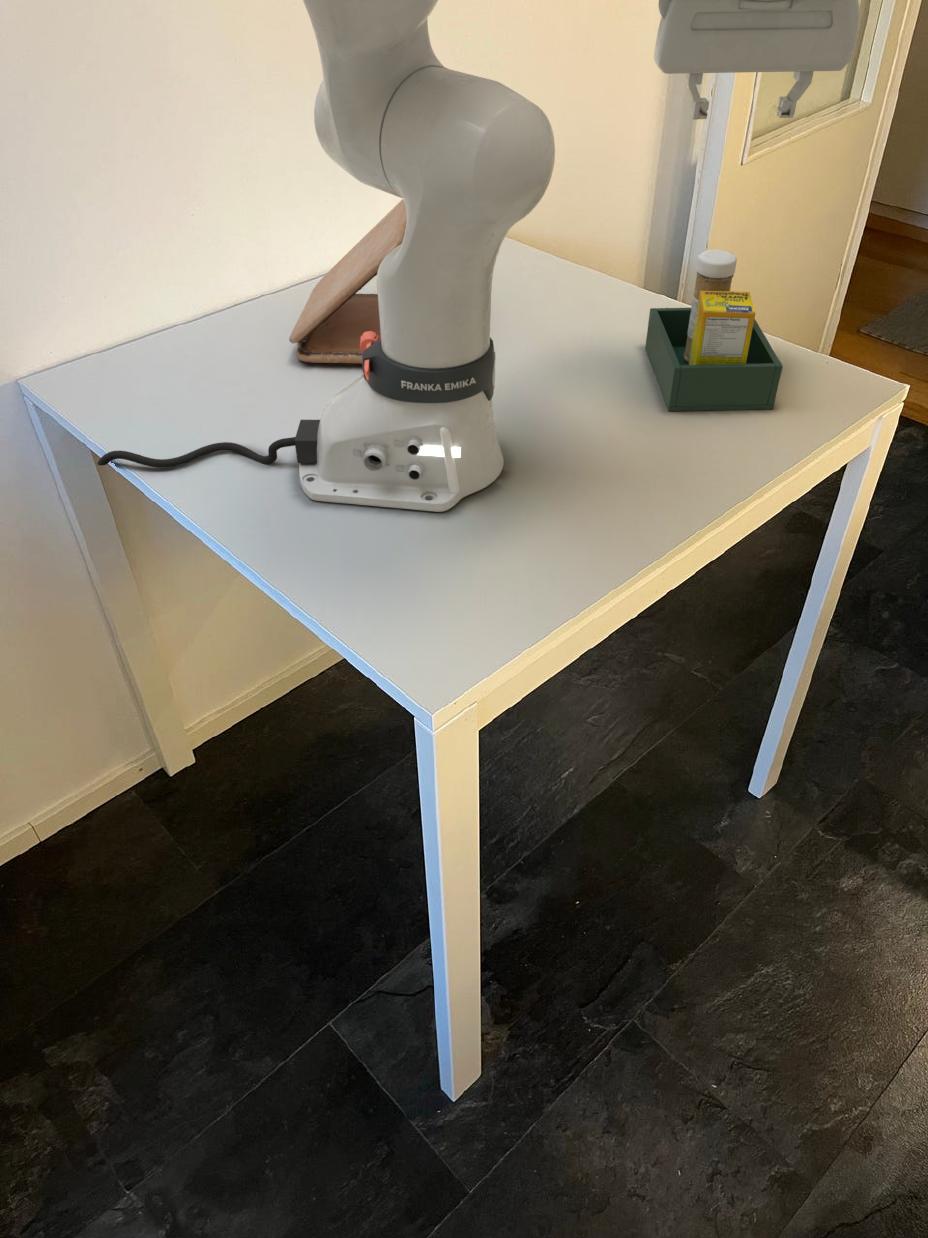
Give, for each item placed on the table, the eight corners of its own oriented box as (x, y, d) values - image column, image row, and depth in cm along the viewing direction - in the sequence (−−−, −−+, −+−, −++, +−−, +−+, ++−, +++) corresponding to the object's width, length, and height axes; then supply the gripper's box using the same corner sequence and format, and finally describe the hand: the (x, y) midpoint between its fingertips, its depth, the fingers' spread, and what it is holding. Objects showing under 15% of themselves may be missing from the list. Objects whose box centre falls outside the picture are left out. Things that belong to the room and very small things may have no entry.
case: (318, 301, 139) (305, 185, 129) (462, 304, 138) (460, 188, 127) (286, 366, 124) (268, 241, 113) (448, 371, 123) (445, 245, 112)
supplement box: (734, 375, 120) (750, 290, 113) (739, 398, 115) (757, 311, 108) (686, 373, 120) (699, 288, 113) (689, 396, 116) (703, 310, 109)
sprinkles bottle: (719, 353, 124) (738, 249, 115) (717, 369, 121) (736, 264, 112) (683, 350, 125) (699, 246, 116) (680, 365, 122) (697, 260, 113)
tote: (668, 411, 115) (674, 368, 111) (645, 348, 127) (650, 307, 123) (773, 409, 115) (782, 365, 111) (739, 346, 127) (747, 305, 123)
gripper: (668, -29, 92) (651, 126, 102) (878, -33, 93) (842, 123, 102) (657, -39, 97) (641, 110, 106) (857, -42, 97) (824, 107, 107)
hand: (741, 117), depth 104 cm, fingers open, 8 cm apart
